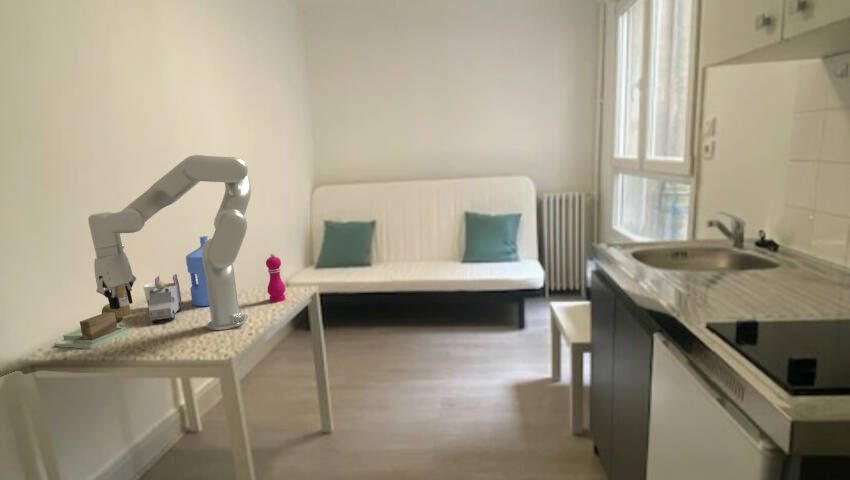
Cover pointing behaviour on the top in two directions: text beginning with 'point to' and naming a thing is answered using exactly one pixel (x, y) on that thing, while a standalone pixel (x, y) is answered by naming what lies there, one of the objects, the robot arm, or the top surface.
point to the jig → (77, 340)
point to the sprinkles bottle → (122, 301)
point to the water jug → (198, 276)
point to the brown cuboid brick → (98, 326)
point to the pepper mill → (275, 279)
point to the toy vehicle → (164, 300)
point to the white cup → (147, 290)
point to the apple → (107, 309)
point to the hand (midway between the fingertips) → (121, 305)
